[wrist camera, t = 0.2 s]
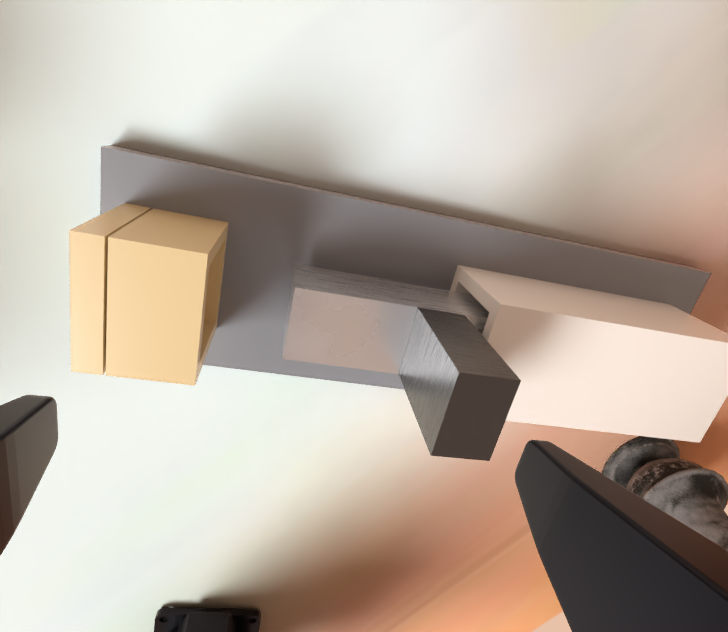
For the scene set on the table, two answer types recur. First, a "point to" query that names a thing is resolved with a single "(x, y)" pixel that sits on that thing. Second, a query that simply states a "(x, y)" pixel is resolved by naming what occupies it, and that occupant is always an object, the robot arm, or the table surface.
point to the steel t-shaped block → (408, 351)
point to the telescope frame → (386, 261)
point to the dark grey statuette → (673, 485)
